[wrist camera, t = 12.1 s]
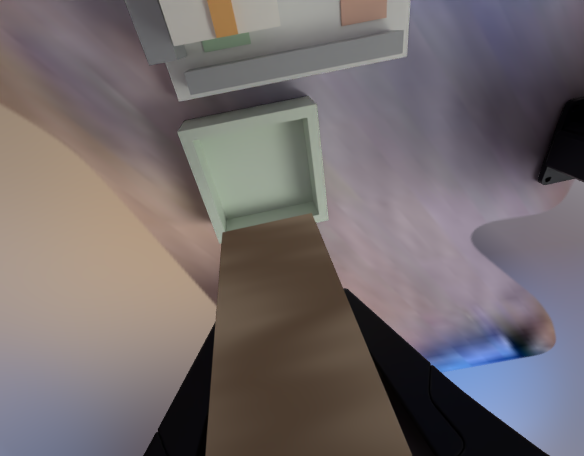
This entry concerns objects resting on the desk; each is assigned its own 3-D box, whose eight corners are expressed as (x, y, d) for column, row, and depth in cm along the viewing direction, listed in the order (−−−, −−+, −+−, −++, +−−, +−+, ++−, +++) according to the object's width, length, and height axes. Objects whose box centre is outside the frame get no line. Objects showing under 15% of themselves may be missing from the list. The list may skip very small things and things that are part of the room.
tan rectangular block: (311, 212, 11) (539, 762, 3) (320, 277, 13) (468, 710, 5) (222, 232, 11) (174, 871, 3) (245, 294, 13) (258, 772, 4)
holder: (307, 96, 18) (316, 103, 16) (320, 202, 22) (328, 220, 20) (184, 120, 17) (176, 132, 15) (221, 223, 22) (219, 243, 20)
